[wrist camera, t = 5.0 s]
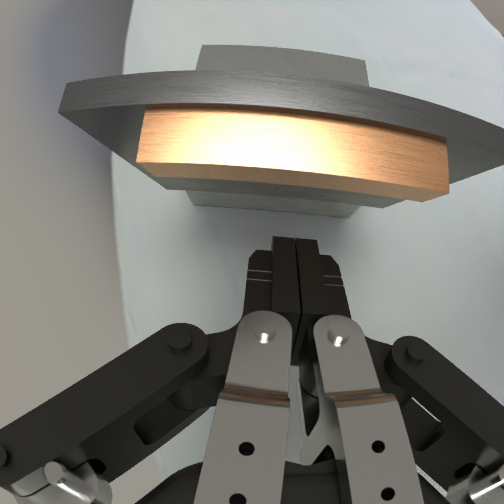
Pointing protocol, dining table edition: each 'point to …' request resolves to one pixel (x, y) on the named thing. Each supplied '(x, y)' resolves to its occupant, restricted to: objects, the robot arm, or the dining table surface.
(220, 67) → the grey metal box
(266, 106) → the lid
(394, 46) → the dining table surface
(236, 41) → the dining table surface
